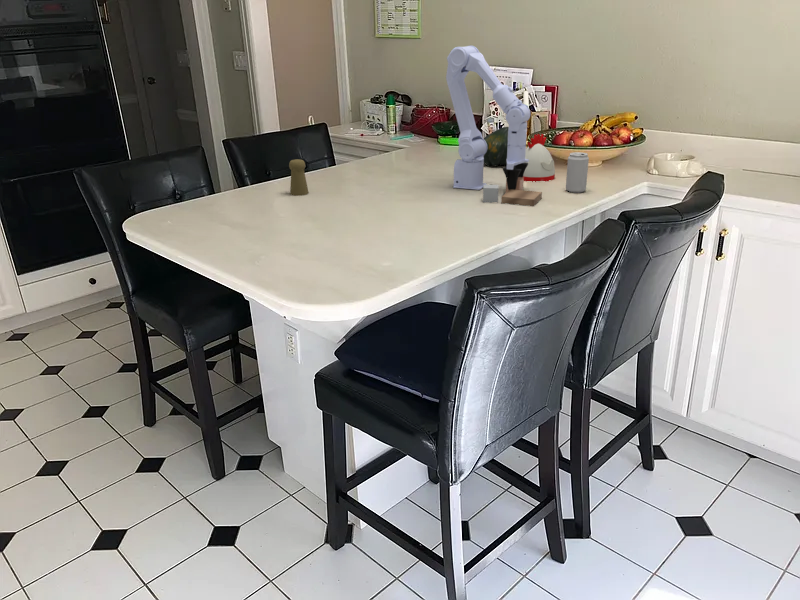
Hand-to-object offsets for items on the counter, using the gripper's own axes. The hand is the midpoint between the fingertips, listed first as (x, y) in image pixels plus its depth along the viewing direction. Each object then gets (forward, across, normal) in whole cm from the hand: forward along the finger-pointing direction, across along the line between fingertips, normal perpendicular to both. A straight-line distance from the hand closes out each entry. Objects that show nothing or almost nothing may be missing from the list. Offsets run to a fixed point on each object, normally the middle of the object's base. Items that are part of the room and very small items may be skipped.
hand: (514, 187), depth 211 cm
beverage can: (+2, +8, -18) cm, 20 cm away
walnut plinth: (+1, -10, -5) cm, 11 cm away
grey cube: (+2, -13, +4) cm, 14 cm away
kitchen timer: (+2, +23, -1) cm, 23 cm away
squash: (+2, +40, +17) cm, 43 cm away
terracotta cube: (+2, 0, 0) cm, 2 cm away
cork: (+2, -26, +65) cm, 70 cm away
